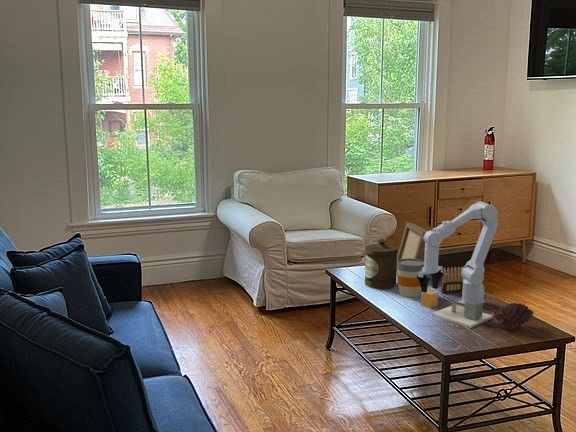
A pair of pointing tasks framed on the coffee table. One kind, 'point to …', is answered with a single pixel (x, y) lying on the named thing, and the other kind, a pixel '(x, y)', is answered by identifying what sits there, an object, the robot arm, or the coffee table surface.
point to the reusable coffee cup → (409, 276)
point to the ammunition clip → (452, 281)
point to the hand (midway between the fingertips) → (429, 290)
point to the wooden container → (381, 265)
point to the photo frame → (412, 243)
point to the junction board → (460, 316)
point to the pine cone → (513, 315)
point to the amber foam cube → (429, 299)
